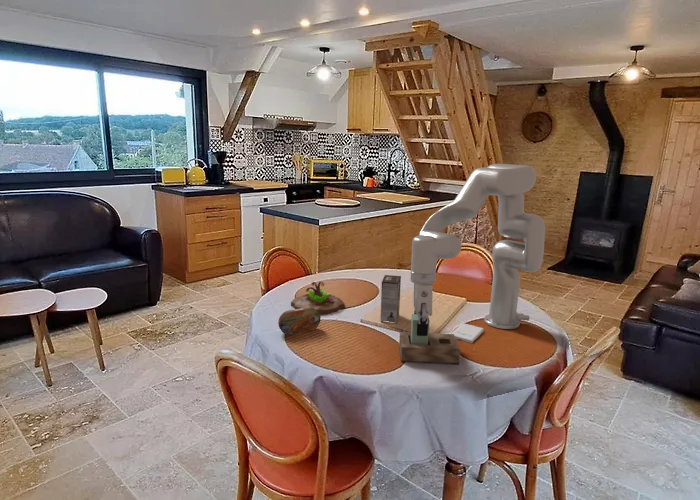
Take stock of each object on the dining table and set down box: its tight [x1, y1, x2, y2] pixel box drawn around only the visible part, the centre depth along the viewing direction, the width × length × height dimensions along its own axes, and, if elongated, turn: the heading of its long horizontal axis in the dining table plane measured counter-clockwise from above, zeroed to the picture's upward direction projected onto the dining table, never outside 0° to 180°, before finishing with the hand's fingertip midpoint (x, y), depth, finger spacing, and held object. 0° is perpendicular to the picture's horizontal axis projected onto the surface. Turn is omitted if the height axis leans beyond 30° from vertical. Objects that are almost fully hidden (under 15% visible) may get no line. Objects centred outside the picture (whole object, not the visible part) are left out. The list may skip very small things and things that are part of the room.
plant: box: [290, 280, 346, 316], centre depth 179 cm, size 20×20×11 cm
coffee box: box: [379, 274, 402, 323], centre depth 167 cm, size 9×6×16 cm
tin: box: [278, 307, 321, 336], centre depth 155 cm, size 15×3×8 cm, turn 117°
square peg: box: [410, 313, 430, 345], centre depth 139 cm, size 5×5×12 cm
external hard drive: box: [450, 322, 485, 344], centre depth 156 cm, size 2×8×12 cm
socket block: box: [398, 331, 461, 366], centre depth 139 cm, size 18×11×5 cm, turn 87°
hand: (420, 328), depth 138 cm, fingers open, 9 cm apart
